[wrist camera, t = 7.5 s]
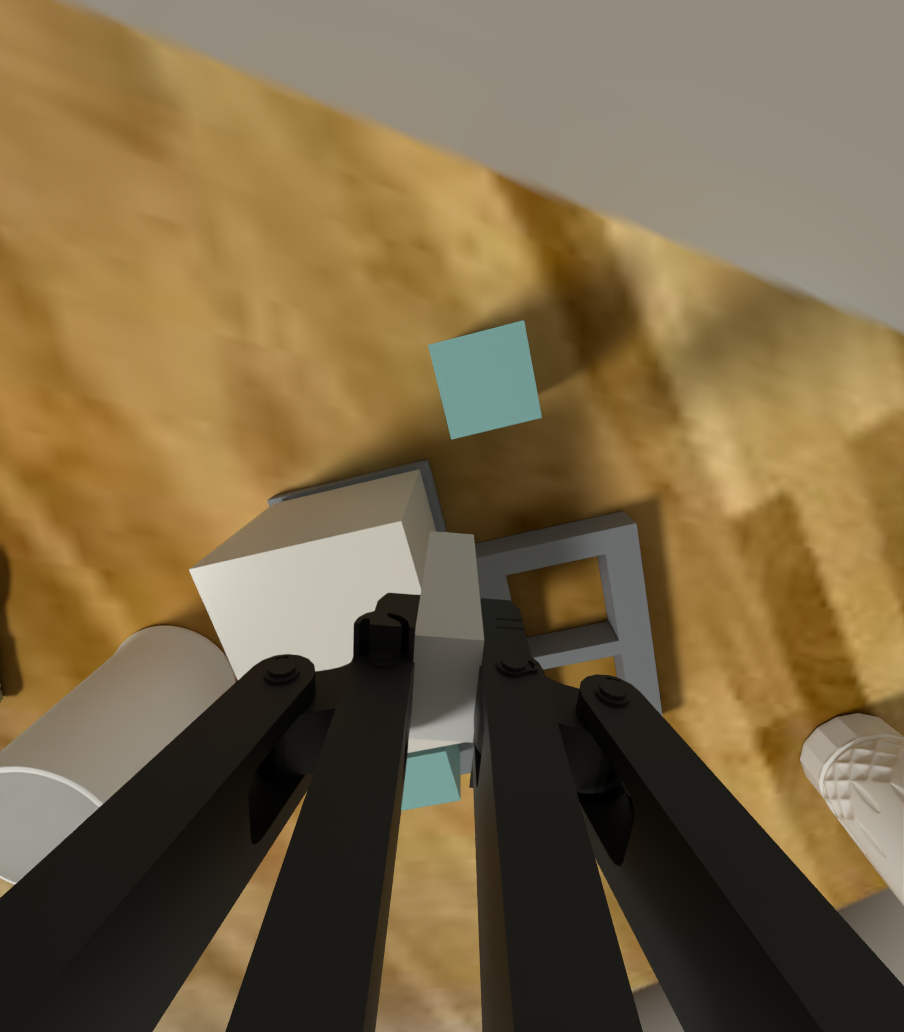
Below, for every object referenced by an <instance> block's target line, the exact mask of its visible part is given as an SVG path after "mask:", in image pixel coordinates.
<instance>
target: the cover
mask: <svg viewBox="0 0 904 1032" xmlns="http://www.w3.org/2000/svg"><path fill="white" fill-rule="evenodd" d="M430 531H434V532H436V528H435V525H434V521H433V517H432V513H431V510H430V506H429V502H428V498H427V495H426V491H425V487H424V483H423V480H422V476H421V472H420V469H418V470H414V471H410V472H405V473H401V474H397V475H393V476H388V477H384V478H380V479H376V480H371V481H367V482H363V483H359V484H355V485H350V486H346V487H342V488H338V489H333V490H329V491H325V492H321V493H317V494H312V495H308V496H304V497H300V498H295V499H291V500H287V501H283V502H278V503H274V504H273V505H271V506H270V507H269V508H268V509H266V510H265V511H264V512H262V513H261V514H260V515H258V516H257V517H256V518H255V519H253V520H252V521H251V522H249V523H248V524H247V525H246V526H244V527H243V528H242V529H240V530H239V531H238V532H237V533H235V534H234V535H233V536H231V537H230V538H229V539H228V540H226V541H225V542H224V543H222V544H221V545H220V546H218V547H217V548H216V549H215V550H213V551H212V552H211V553H209V554H208V555H207V556H206V557H204V558H203V559H202V560H200V561H199V562H198V563H197V564H195V565H194V566H193V567H191V568H190V569H189V571H190V573H191V575H192V578H193V580H194V582H195V584H196V587H197V589H198V591H199V594H200V596H201V598H202V600H203V603H204V605H205V607H206V609H207V612H208V614H209V616H210V619H211V621H212V623H213V625H214V628H215V630H216V632H217V634H218V637H219V639H220V641H221V643H222V646H223V648H224V650H225V653H226V655H227V657H228V659H229V662H230V664H231V666H232V668H233V671H234V673H235V675H236V678H237V680H239V679H240V678H241V677H242V676H243V675H244V674H245V673H247V672H248V671H249V670H250V669H251V668H252V667H253V666H254V665H256V664H257V663H259V662H260V661H262V660H264V659H267V658H270V657H272V656H276V655H283V654H293V655H300V656H303V657H305V658H308V659H309V660H310V661H311V662H312V663H313V664H314V666H315V671H322V670H329V669H334V668H339V667H341V666H344V665H347V664H349V663H350V662H351V661H352V658H353V637H354V622H355V621H356V620H357V618H358V617H360V616H362V615H364V614H365V613H368V612H372V611H375V608H376V605H377V602H378V600H379V599H380V598H382V597H383V596H384V595H385V594H387V593H400V594H414V595H421V588H422V582H423V575H424V568H425V562H426V555H427V548H428V542H429V535H430ZM458 743H464V742H455V741H440V740H426V739H411V738H409V741H408V753H410V752H416V751H421V750H426V749H432V748H437V747H442V746H448V745H453V744H458Z"/></svg>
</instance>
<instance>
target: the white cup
mask: <svg viewBox="0 0 904 1032" xmlns="http://www.w3.org/2000/svg"><path fill="white" fill-rule="evenodd" d="M800 761H801V764H802V767H803V770H804V773H805V775H806V776H807V778H808V779H809V780H810V782H811V783H812V784H813V785H814V787H815V788H816V789H817V791H818V792H819V793H820V794H821V796H822V797H823V798H824V799H825V801H826V803H827V804H828V806H829V808H830V809H831V811H832V812H833V814H834V815H835V816H836V818H837V819H838V820H839V821H840V823H841V824H842V825H843V826H844V828H845V829H846V831H847V832H848V834H849V835H850V837H851V838H852V839H853V841H854V842H855V843H856V845H857V846H858V847H859V849H860V850H861V851H862V853H863V854H864V855H865V856H866V858H867V859H868V860H869V862H870V863H871V864H872V866H873V867H874V868H875V869H876V871H877V872H878V873H879V875H880V876H881V877H882V879H883V880H884V881H885V882H886V884H887V885H888V886H889V888H890V889H891V890H892V892H893V893H894V894H895V895H896V897H897V898H898V899H899V901H900V902H901V903H902V905H903V906H904V736H902V735H901V734H900V733H898V732H897V731H896V730H895V729H893V728H892V727H891V726H890V725H888V724H887V723H886V722H885V721H883V720H882V719H881V718H879V717H876V716H871V715H866V714H861V713H855V714H849V715H844V716H838V717H835V718H833V719H831V720H829V721H828V722H826V723H824V724H822V725H820V726H819V727H817V728H816V729H815V730H814V731H813V733H812V734H811V735H810V736H809V737H808V738H807V740H806V741H805V742H804V745H803V749H802V752H801V756H800Z"/></svg>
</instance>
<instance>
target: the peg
mask: <svg viewBox="0 0 904 1032" xmlns="http://www.w3.org/2000/svg"><path fill="white" fill-rule="evenodd" d="M428 346H429V350H430V354H431V359H432V363H433V367H434V371H435V375H436V379H437V383H438V387H439V391H440V396H441V400H442V404H443V408H444V412H445V416H446V420H447V424H448V428H449V432H450V437H451V440H452V439H456V438H460V437H464V436H469V435H473V434H477V433H481V432H485V431H489V430H493V429H497V428H502V427H506V426H510V425H514V424H518V423H522V422H526V421H531V420H535V419H539V418H542V415H541V410H540V404H539V399H538V393H537V388H536V383H535V377H534V372H533V366H532V361H531V355H530V350H529V345H528V339H527V334H526V328H525V323H524V320H523V321H519V322H515V323H511V324H507V325H503V326H499V327H496V328H492V329H488V330H484V331H480V332H476V333H472V334H469V335H465V336H461V337H457V338H453V339H449V340H445V341H442V342H438V343H434V344H430V345H428Z"/></svg>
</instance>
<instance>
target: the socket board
mask: <svg viewBox="0 0 904 1032" xmlns="http://www.w3.org/2000/svg"><path fill="white" fill-rule="evenodd" d="M475 553H476V563H477V572H478V582H479V592H480V598H486V599H499V600H510V601H511V602H512V600H511V596H510V591H509V587H508V583H507V578H506V575H511V574H515V573H520V572H525V571H529V570H534V569H539V568H543V567H548V566H552V565H557V564H562V563H566V562H571V561H576V560H580V559H585V558H590V557H594V556H597V557H598V563H599V569H600V575H601V581H602V587H603V593H604V599H605V606H606V612H607V618H608V621H606V622H601V623H597V624H592V625H587V626H582V627H577V628H572V629H567V630H562V631H557V632H552V633H547V634H542V635H537V636H533V637H528V638H527V641H528V645H529V649H530V653H531V657H533V658H534V659H535V660H536V661H538V662H539V663H540V665H541V667H542V669H543V670H544V669H549V668H554V667H559V666H564V665H569V664H574V663H579V662H585V661H590V660H595V659H600V658H605V657H610V656H614V661H615V667H616V673H617V678H620V679H622V680H624V681H626V682H628V683H630V684H632V685H633V686H634V687H635V688H636V689H638V690H639V691H640V692H641V693H642V694H643V695H644V696H645V698H646V699H647V700H648V701H649V702H650V703H651V704H652V705H653V707H654V708H655V709H656V710H657V711H658V712H659V713H660V714H661V715H662V709H661V701H660V694H659V686H658V679H657V672H656V664H655V657H654V649H653V642H652V634H651V627H650V619H649V612H648V604H647V597H646V590H645V582H644V575H643V567H642V560H641V552H640V545H639V537H638V530H637V523H636V522H635V521H634V520H633V519H631V518H630V517H629V516H628V515H627V514H626V513H625V512H624V511H620V512H616V513H611V514H607V515H602V516H598V517H593V518H589V519H584V520H580V521H575V522H571V523H566V524H562V525H557V526H553V527H548V528H544V529H539V530H535V531H530V532H526V533H521V534H517V535H512V536H508V537H503V538H499V539H494V540H489V541H485V542H480V543H476V544H475ZM662 717H663V716H662Z"/></svg>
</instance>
